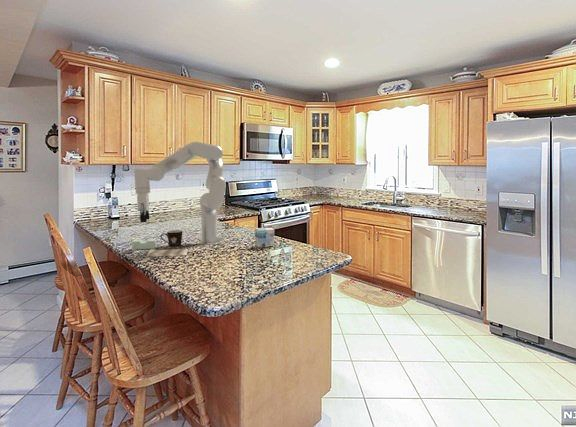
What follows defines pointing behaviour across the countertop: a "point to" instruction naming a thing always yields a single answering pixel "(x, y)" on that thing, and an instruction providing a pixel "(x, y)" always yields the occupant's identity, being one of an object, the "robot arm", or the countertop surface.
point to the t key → (148, 238)
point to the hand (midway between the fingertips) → (145, 220)
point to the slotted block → (144, 244)
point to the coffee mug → (173, 238)
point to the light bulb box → (264, 237)
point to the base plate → (167, 252)
